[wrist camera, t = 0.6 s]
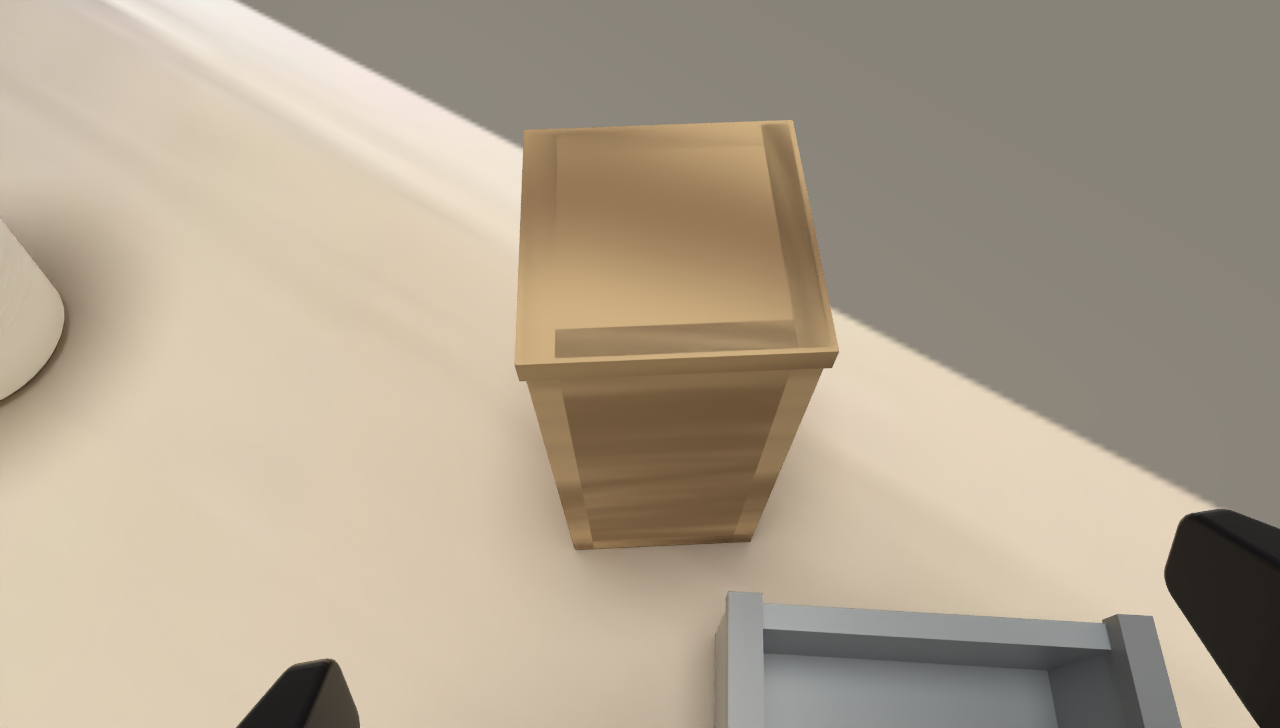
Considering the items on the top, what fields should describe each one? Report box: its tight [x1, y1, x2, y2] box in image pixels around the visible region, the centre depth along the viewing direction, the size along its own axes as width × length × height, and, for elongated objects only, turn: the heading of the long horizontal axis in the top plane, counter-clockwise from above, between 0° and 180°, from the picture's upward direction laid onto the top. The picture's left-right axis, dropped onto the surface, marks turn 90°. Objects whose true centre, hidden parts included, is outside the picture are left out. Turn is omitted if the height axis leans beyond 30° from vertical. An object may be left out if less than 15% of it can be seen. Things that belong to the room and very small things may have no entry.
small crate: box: [515, 120, 839, 550], centre depth 20 cm, size 6×6×12 cm
